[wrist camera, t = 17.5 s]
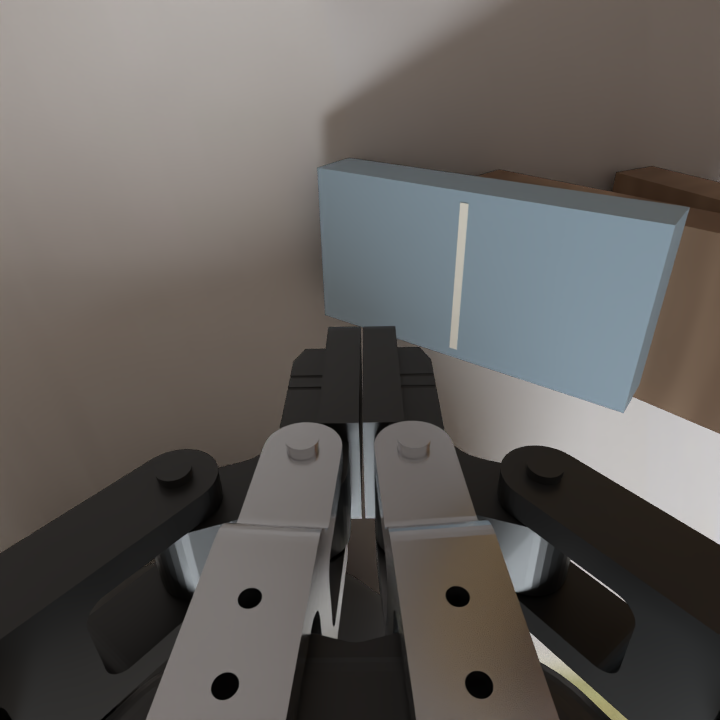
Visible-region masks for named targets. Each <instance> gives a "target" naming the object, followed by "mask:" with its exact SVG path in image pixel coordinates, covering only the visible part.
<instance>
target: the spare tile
mask: <svg viewBox="0 0 720 720" xmlns="http://www.w3.org/2000/svg"><path fill="white" fill-rule="evenodd" d="M317 171H318V190H319V208H320V227H321V246H322V265H323V283H324V302H325V315H327V316H330V317H333V318H336V319H339V320H342V321H345V322H348V323H351V324H354V325H357V326H360V327H363V326H395V328H396V338H397V339H400V340H403V341H406V342H409V343H412V344H415V345H418V346H421V347H424V348H427V349H430V350H433V351H436V352H439V353H442V354H446V355H449V356H452V357H455V358H458V359H461V360H464V361H467V362H470V363H473V364H476V365H479V366H482V367H485V368H488V369H491V370H494V371H497V372H500V373H503V374H506V375H509V376H512V377H515V378H519V379H522V380H525V381H528V382H531V383H534V384H537V385H540V386H543V387H546V388H549V389H552V390H555V391H558V392H561V393H564V394H567V395H570V396H573V397H576V398H579V399H582V400H585V401H588V402H592V403H595V404H598V405H601V406H604V407H607V408H610V409H613V410H616V411H619V412H622V413H624V411H625V410H626V408H627V406H628V404H629V402H630V401H631V399H632V397H633V395H634V393H635V392H636V390H637V388H638V386H639V384H640V381H641V377H642V374H643V370H644V367H645V363H646V360H647V356H648V353H649V349H650V346H651V342H652V339H653V335H654V332H655V328H656V324H657V321H658V317H659V314H660V310H661V307H662V303H663V300H664V296H665V293H666V289H667V286H668V282H669V279H670V275H671V272H672V268H673V265H674V261H675V258H676V254H677V251H678V247H679V244H680V240H681V237H682V233H683V229H684V226H685V223H686V219H687V216H688V212H689V209H690V207H686V206H679V205H672V204H665V203H658V202H651V201H644V200H637V199H630V198H623V197H616V196H609V195H603V194H596V193H589V192H582V191H575V190H568V189H561V188H554V187H547V186H540V185H533V184H526V183H519V182H512V181H506V180H499V179H492V178H485V177H478V176H471V175H464V174H457V173H450V172H443V171H436V170H429V169H422V168H415V167H409V166H402V165H395V164H388V163H381V162H374V161H367V160H360V159H353V158H347V159H344V160H341V161H337V162H334V163H331V164H328V165H324V166H321V167H318V168H317Z"/></svg>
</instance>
